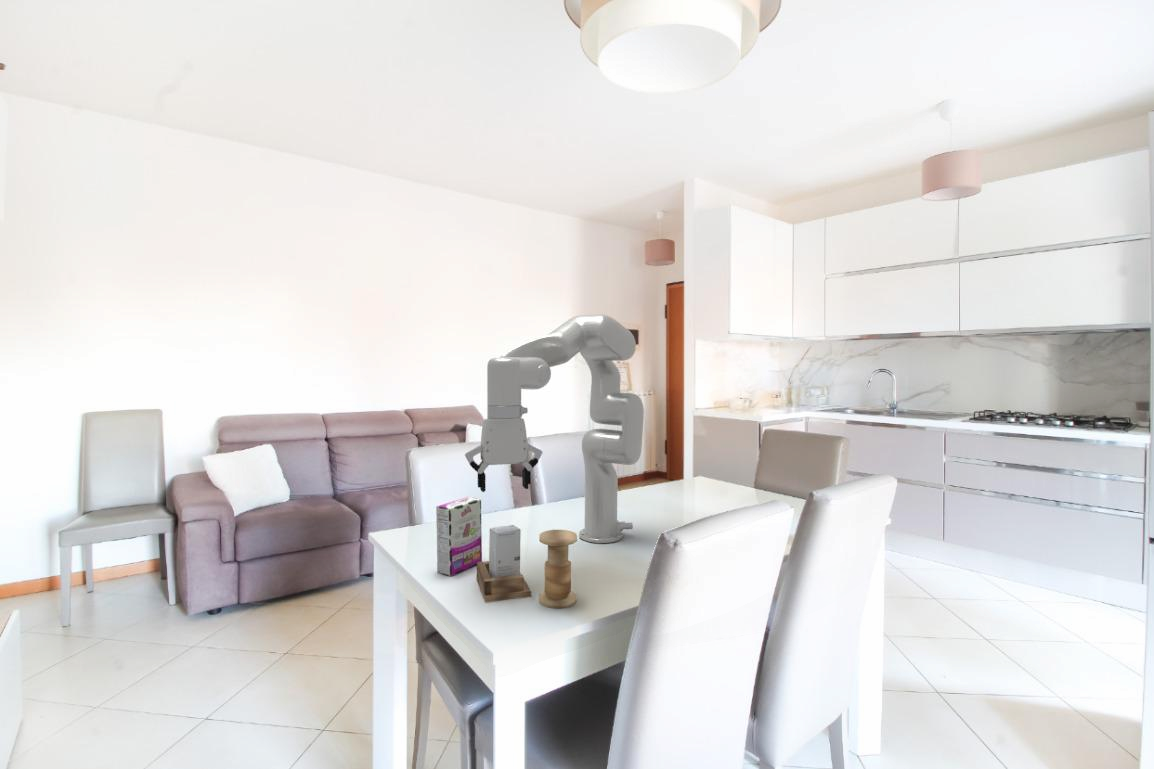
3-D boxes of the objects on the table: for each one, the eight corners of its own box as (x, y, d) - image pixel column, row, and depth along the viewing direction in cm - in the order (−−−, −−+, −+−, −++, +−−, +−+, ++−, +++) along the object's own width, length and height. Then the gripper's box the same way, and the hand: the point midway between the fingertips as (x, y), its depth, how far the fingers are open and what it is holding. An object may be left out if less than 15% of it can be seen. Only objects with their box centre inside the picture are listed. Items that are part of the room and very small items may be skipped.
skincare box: (495, 587, 121) (496, 533, 120) (487, 580, 125) (488, 527, 124) (521, 582, 124) (521, 528, 124) (512, 575, 128) (513, 523, 127)
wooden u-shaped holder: (518, 574, 132) (518, 557, 132) (531, 596, 120) (531, 577, 120) (476, 579, 129) (476, 561, 129) (484, 602, 117) (484, 582, 116)
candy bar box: (467, 559, 142) (467, 496, 142) (482, 563, 139) (482, 498, 139) (435, 573, 133) (435, 505, 132) (450, 577, 130) (450, 508, 129)
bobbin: (570, 590, 123) (570, 528, 122) (581, 605, 115) (581, 539, 115) (535, 594, 120) (535, 531, 120) (544, 610, 113) (544, 542, 112)
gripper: (537, 410, 129) (537, 483, 130) (463, 412, 124) (463, 488, 125) (546, 413, 122) (545, 490, 123) (467, 415, 117) (467, 495, 118)
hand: (504, 489), depth 124 cm, fingers open, 9 cm apart
